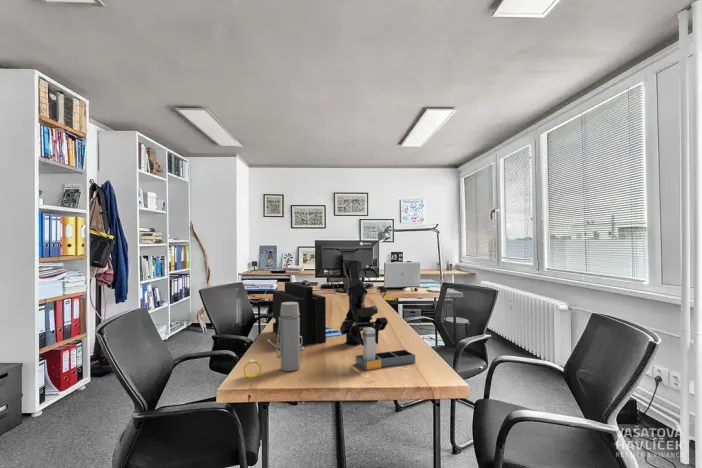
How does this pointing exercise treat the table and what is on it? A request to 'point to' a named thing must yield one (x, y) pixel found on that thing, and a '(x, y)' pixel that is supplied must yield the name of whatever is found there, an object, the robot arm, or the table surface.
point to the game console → (304, 313)
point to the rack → (386, 359)
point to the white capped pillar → (369, 344)
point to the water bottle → (289, 336)
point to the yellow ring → (252, 363)
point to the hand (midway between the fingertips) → (370, 344)
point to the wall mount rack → (279, 343)
